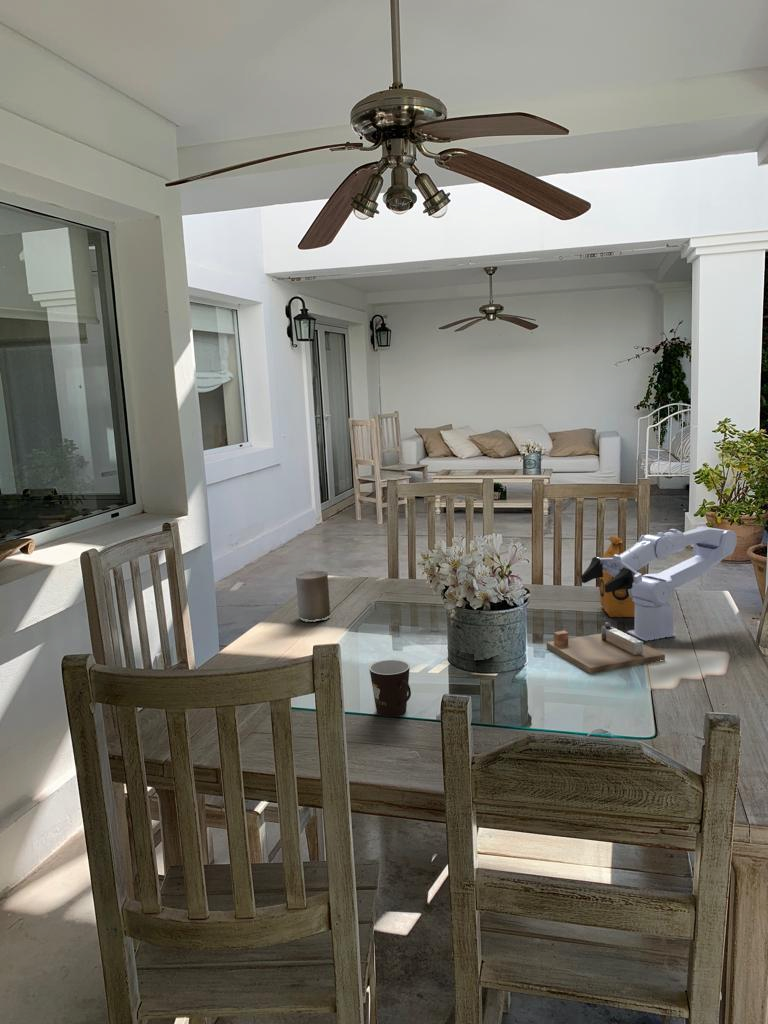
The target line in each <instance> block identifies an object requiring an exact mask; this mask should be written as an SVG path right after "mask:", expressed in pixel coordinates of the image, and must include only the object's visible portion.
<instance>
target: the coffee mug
mask: <svg viewBox="0 0 768 1024" xmlns="http://www.w3.org/2000/svg"><path fill="white" fill-rule="evenodd" d="M410 667H411V666H410V664H409V663H408V662H407V661H403V660H399V659H385V660H380V661H379V660H378V661H375V662H374V663H372V664H371V665H370V666H369V667H368V669H369V674H370V680H371V686H372V692H373V697H374V704H375V711H376V714H377V715H378V716H380V717H383V718H389V719H391V718H398V717H401V716H403V715H405V714H406V712H407V707H408V706H407V705H408V704H407V703H408V701H409V700H410V698H411V695H412V691H411V687H410V684H409V680H410V679H409V678H410V670H411V669H410Z"/></svg>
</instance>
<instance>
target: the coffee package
mask: <svg viewBox="0 0 768 1024" xmlns="http://www.w3.org/2000/svg"><path fill="white" fill-rule="evenodd" d="M608 540H609V542H611V543H610V545H609V546H608V548H607V549H606V550H605V553H604V554H603V556H602V558H613V555H615V554H616V555H620V554H622V553H623V552H625V551H626V550H625V547H624V545H623V539H622V538H620V537H618V536H616V535H614V534H613V535H611V536H609V538H608ZM602 571H603V577H600V578H599V586H598V587H599V591H598V592H599V598H600V606H601V607H602V609H603V610H604V611H605V613H606V614H607V616H609V617H610V618H635V602H633V601H632V600H633V598H632V597H631V596H630V595H629V592H628V589H621V590H616V591H612V592H609V593H606V592H605V586H604V585H605V584H606V583H607V582H608V581H610V580H611V579H613V578H614V577H613V576H612V575H610V574H609V573H608V572H606V571H605V570H604V569H603V570H602Z"/></svg>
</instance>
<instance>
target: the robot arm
mask: <svg viewBox="0 0 768 1024" xmlns="http://www.w3.org/2000/svg"><path fill="white" fill-rule="evenodd" d="M737 538H738V537H737V534H736V532H735V531H734V530H731V529H727V530H726V529H721V528H716V527H710V526H706V525H702V526H696V528H693V529H691V530H690V529H689V530H687V531H683V532H682V531H680V530H679V529H676V528H670V529H669V531H667V532H662V531H661V532H657V534H655V535H653V534H641V536H640V537H639V539H638V541H637V542H636V543H635V544H633V546H631V547H630V548H628V549H627V550H625V552H623V553H622V554H620V555H616V554H615V555H613V558H603V557H598V556H594V557H592V558H591V561H590V563H589V566H588V567H587V568H586V570H585V571H584V572H583V573H582V575H580V577H581V583H583V584H585V583H589V582H590V581H592V580H595V579H598V578H599V579H600V577H603V571H602V570H603V569H604V570H605V571H606V572H608V573H609V574H610V575H612V576H613V577H614V578H613V579H611V580H610V581H608V582H607V583H606V584H605V585H604V586H605V592H606V593H609V592H612V591H616V590H621V589H628V592H629V595H630V596H631V597H632V598H633V600H632V601H633V602H635V616H634V629H631V630H630V629H629V630H627V631H626V632H627V633H628V635H630V636H632V637H635V638H637V639H639V640H641V641H643V642H644V641H645V642H649V641H653V640H654V639H655V640H660V638H661V639H665V637H667V638H672V637H675V636H676V634H675V633H674V610H673V606H672V605H671V603H670V602H669V600H670V599H671V598H672V597H674V596H675V592H676V589H677V588H679V587H681V586H683V585H685V584H687V583H689V582H691V581H693V580H695V579H697V578H699V577H701V576H703V575H705V574H707V573H710V572H712V570H714V569H715V568H716V567H717V566H718V565H719V564H720V563H721V561H723V559H725V558H726V557H727V558H728V557H729V556H731V555H733V554H734V551H735V548H736V546H737V543H738V539H737ZM689 545H693V548H692V555H693V556H692V557H690V558H688V559H685V560H684V561H681V562H680V563H678V564H675V565H673V566H671V567H669V568H667V569H665V570H663V571H661V572H658V573H646V574H643V575H642V573H640V572H639V570H640V569H642V568H643V567H644V566H647V565H648V564H649V563H651V562H653V561H655V559H661V560H662V559H663V560H665V559H667V557H669V555H671V554H675V553H677V552H682V551H684V550H685V548H686V547H687V546H689ZM627 633H626V634H627ZM648 640H649V641H648ZM655 640H654V641H655Z"/></svg>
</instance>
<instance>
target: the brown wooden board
mask: <svg viewBox="0 0 768 1024" xmlns="http://www.w3.org/2000/svg"><path fill="white" fill-rule="evenodd" d="M546 649H548V650H549V651H551V652H553V654H556V655H557V656H560V657H561V658H563V659H565V660H566V661H568V662H570V663H571V664H573V665H574V664H575V665H574V666H577V667H578V668H579V669H582V670H583V671H584V670H585V671H584V672H586V673H588V674H589V675H592V674H597V673H603V672H609V671H613V670H614V671H615V670H620V669H625V668H629V667H630V668H631V667H636V666H641V665H647V664H646V663H648V664H652V663H651V662H653V663H657V662H656V661H659V662H661V661H660V660H664V661H666V654H665V653H663V652H661V651H659V650H658V649H657V650H656V649H655V648H653V647H650V646H648V645H646V644H644V643H643V654H639V655H634V654H632V653H630V652H628V651H626V650H624V649H622V648H620V647H618V646H616V645H614V644H612V643H610V642H608V641H606V640H602V639H601V632H600V633H595V634H589V635H583V636H577V637H570V638H569V632H567V631H566V630H560V631H554V632H553V640H552V641H547V642H546Z"/></svg>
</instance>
